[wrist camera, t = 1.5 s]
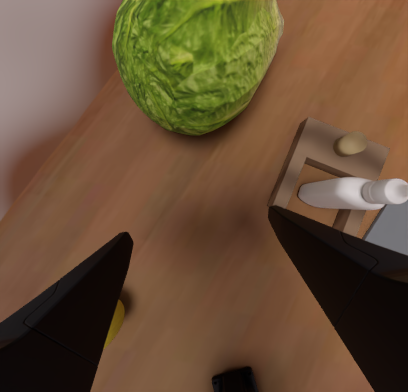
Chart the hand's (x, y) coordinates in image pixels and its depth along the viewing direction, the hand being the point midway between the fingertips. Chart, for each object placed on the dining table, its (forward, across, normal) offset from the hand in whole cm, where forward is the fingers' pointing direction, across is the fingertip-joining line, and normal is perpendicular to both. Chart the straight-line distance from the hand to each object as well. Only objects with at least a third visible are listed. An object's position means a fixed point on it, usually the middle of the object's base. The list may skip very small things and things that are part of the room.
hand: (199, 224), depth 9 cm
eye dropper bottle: (+13, -18, +9) cm, 24 cm away
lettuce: (+24, -5, -9) cm, 26 cm away
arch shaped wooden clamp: (+14, -20, +7) cm, 25 cm away
